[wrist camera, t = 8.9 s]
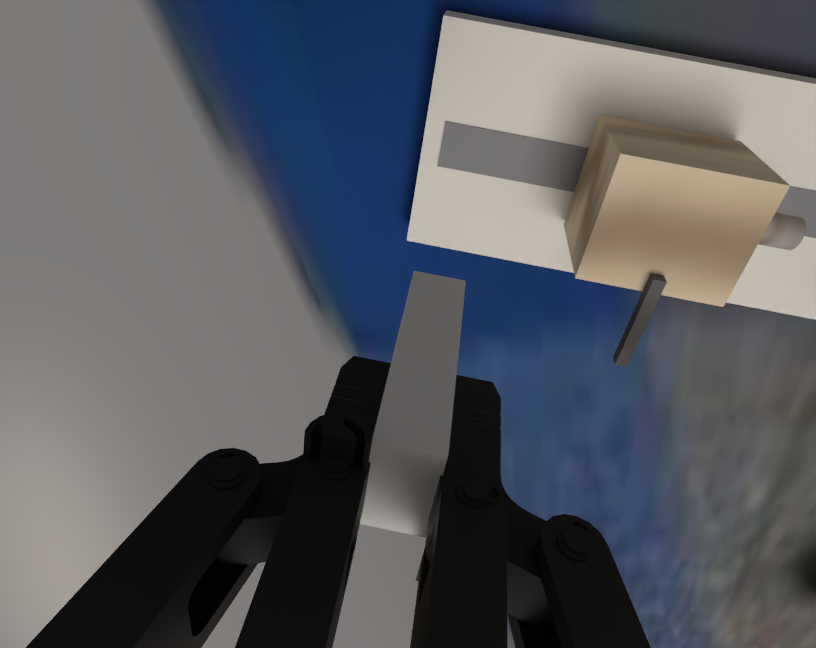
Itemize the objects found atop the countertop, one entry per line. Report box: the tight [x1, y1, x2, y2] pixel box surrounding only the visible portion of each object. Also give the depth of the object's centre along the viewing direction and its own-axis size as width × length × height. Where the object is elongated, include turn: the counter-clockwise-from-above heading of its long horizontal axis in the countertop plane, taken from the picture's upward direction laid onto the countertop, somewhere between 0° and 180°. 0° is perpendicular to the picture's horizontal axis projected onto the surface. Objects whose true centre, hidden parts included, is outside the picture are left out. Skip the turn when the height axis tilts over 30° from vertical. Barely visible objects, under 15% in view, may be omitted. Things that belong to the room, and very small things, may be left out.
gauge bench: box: [407, 10, 816, 320], centre depth 28 cm, size 12×30×10 cm, turn 81°
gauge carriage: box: [564, 115, 806, 367], centre depth 29 cm, size 10×10×7 cm
